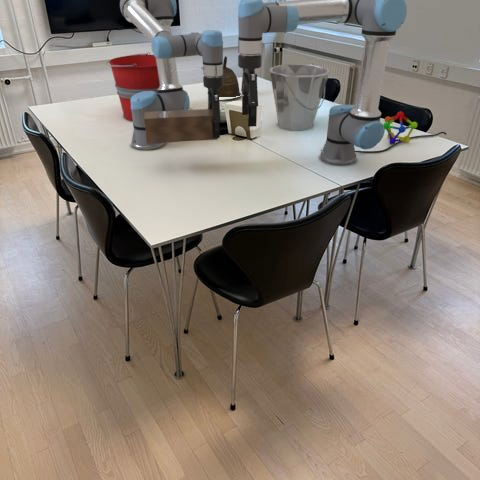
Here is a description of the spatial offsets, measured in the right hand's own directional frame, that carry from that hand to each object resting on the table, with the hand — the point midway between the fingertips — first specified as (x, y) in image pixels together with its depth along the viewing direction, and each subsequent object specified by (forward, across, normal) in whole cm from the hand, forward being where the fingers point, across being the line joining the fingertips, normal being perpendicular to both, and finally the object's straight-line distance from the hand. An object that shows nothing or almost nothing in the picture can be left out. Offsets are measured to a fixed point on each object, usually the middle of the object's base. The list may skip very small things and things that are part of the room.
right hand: (248, 120), depth 152 cm
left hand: (+13, +25, +10) cm, 29 cm away
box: (+13, +24, +23) cm, 36 cm away
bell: (+26, +136, -8) cm, 139 cm away
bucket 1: (+26, +103, +41) cm, 114 cm away
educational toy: (+26, +41, -78) cm, 92 cm away
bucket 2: (+26, +74, -37) cm, 87 cm away
